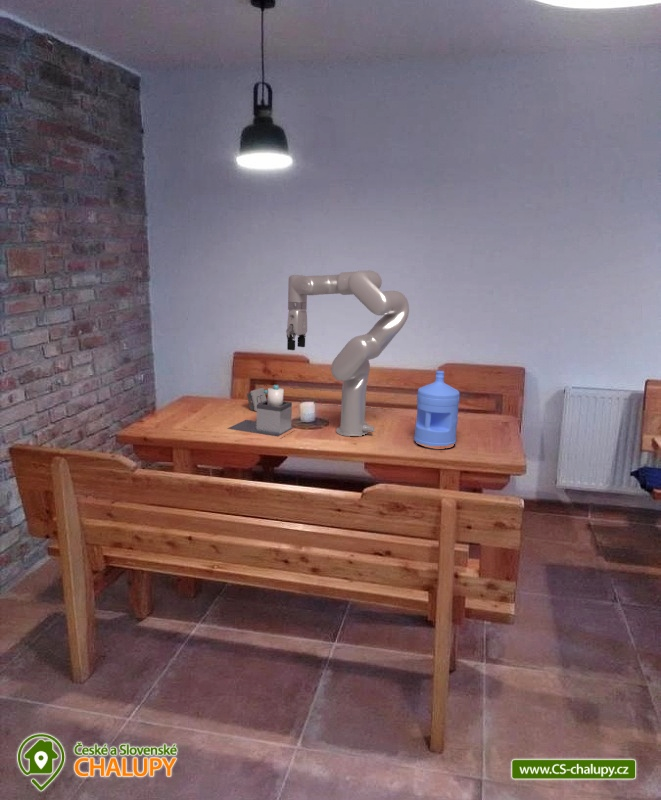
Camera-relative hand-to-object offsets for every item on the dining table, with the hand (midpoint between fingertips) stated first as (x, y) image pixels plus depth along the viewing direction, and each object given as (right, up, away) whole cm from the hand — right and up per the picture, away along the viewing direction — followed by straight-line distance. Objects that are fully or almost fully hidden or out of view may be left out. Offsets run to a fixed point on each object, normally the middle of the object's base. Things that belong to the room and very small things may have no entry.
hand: (296, 348), depth 266 cm
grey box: (-13, -33, -11) cm, 38 cm away
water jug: (+54, -38, -19) cm, 68 cm away
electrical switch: (-19, -25, +22) cm, 39 cm away
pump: (-7, -24, -16) cm, 29 cm away
